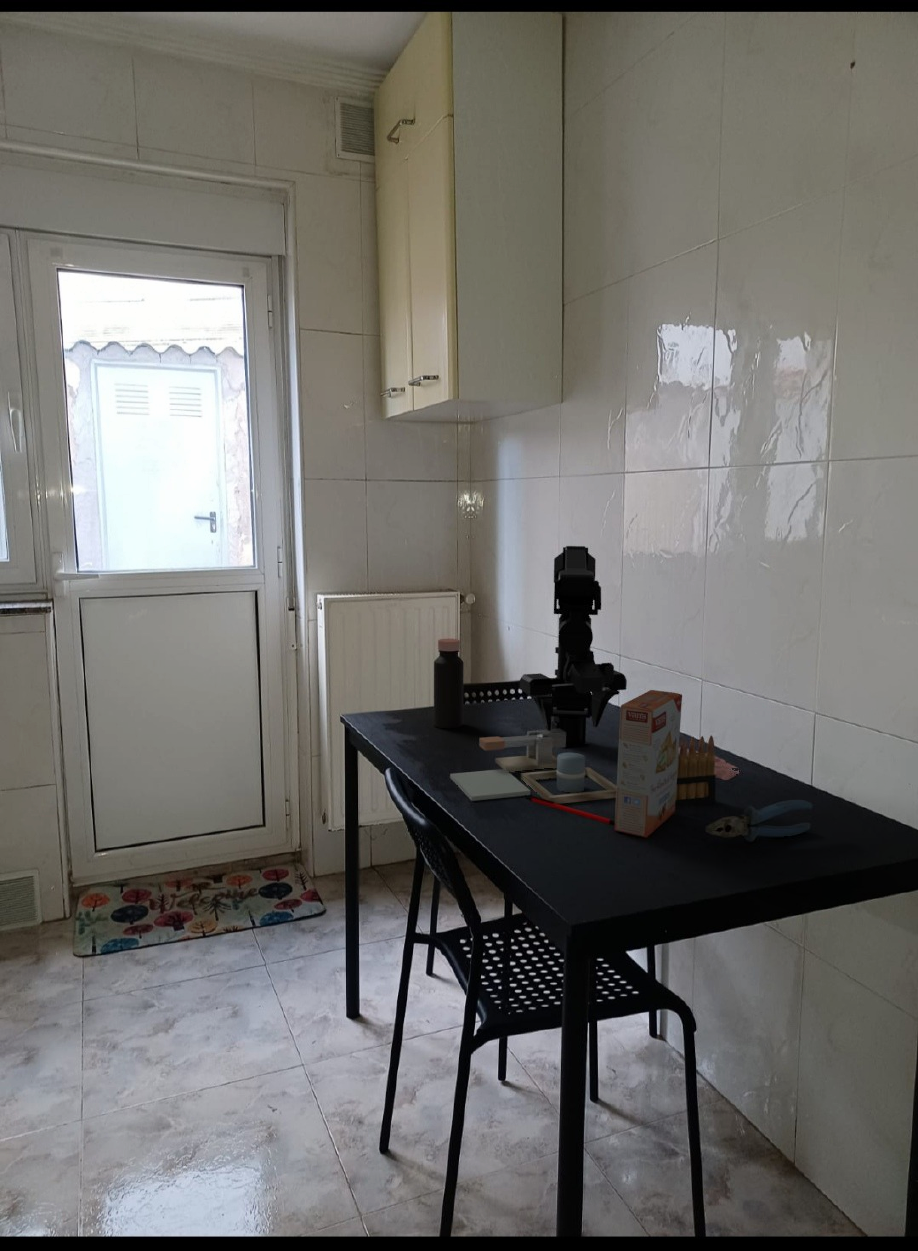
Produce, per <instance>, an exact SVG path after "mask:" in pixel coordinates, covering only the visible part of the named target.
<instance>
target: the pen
mask: <svg viewBox="0 0 918 1251" xmlns="http://www.w3.org/2000/svg"><path fill="white" fill-rule="evenodd" d="M524 798H526V799H525V800H528V799H529V801H530V802H532V803H536V802H537V804H540V805H544V806H547V807H549V808H554V809H557V810H561V811H564V812H568V813H569V814H571V813H572V814H575V815H577V816H581V817H585V818H588V819H592V820H595V821H597V820H598V822H600V823H605V824H607V825H613V826H615V820H613V819H611V818H607V817H603V816H600V815H597V814H593V813H590V812H586V811H583V810H578V809H575V808H572V807H569V806H567V805H566V806H564V805H562V804H555V803H553V801H549V800H546V799H543V798H542V797H540V796H539V797H538V796H534V795H532V796H530V797H529V796H525V797H524Z"/></svg>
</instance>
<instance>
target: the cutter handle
mask: <svg viewBox="0 0 918 1251" xmlns="http://www.w3.org/2000/svg"><path fill="white" fill-rule="evenodd" d="M536 731H537V735H527V734H526V735H516V736H514V735H513V736H504V737H500V736H487V737H479V745H478V746H479V747H480V748H481V749H482V750H484V751H497V750H505V749H506V748H517V747H527V746H531V745H536V738H542V737H552V738H553V746H552V749H557V748H559V749H560V748H567V747H566V732H565V731H563V730H562V729H552V728H551V731H548V730H546V729H537V730H536Z"/></svg>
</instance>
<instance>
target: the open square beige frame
mask: <svg viewBox="0 0 918 1251" xmlns="http://www.w3.org/2000/svg"><path fill="white" fill-rule="evenodd" d="M556 773H557V769H554V770H552V769H551V770H540V771H533V772H532V771H530V772H523V773H521V772H520V780H521V781H522V780H523V781H524V782H525V783H526V784H525V785H527V786H528V785H529V786H530V787H531V788H532V789H533V790H532V789H531V788H530V787H529V786H528V787H529V788H530V789H531V790H532V791H533V792H535V793H536V792H537V793H536V794H537V795H538V796H539V797H540V798H542V799H546V800H549V801H553V803H555V804H559V805H562V804H571V803H577V802H587V801H597V800H607V799H608V800H609V799H616V790H617V784H614V782H611V781H610V780H609V779H607V778H606V777H604V776H603V775H602V774H599V773H598V772H597V771H595V770H594V769H593V768H591V767H589V766H588V767H587V766H585V776H587V777H588V778H590V779H591V780H592V781H594V782H595V783H596V784H598V785H599V786H600V787H602V788H604V790H595V791H594V790H593V791H585V792H583V791H582V792H578V793H564V794H556V795H554V794H553V793H552V792H550V791H549V790H547V789H546V788H545V787H543V786H542V784H540V783H539V782H537V780H538V781H539V779H540V780H549V778H551V779H557V774H556ZM523 781H522V782H523ZM524 782H523V783H524Z"/></svg>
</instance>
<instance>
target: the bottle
mask: <svg viewBox="0 0 918 1251" xmlns="http://www.w3.org/2000/svg"><path fill="white" fill-rule="evenodd" d="M460 643H461V642H460V639H457V638H439V639H438V640H437V650H438V653H439V655H438V656H437V657H436V659H434V662H433V725H434V726H435V727H437V728H439V729H444V728H445V729H449V730H450V729H451V730H452V728H453V729H458V728H461V727H462V726H463V725H464V671H465V670H464V665H465V664H464V663H465V662H464V661H463V659H462V658H461V657H460V656H459V652H460V649H461V648H460V647H461V646H460V645H461V644H460Z"/></svg>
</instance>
